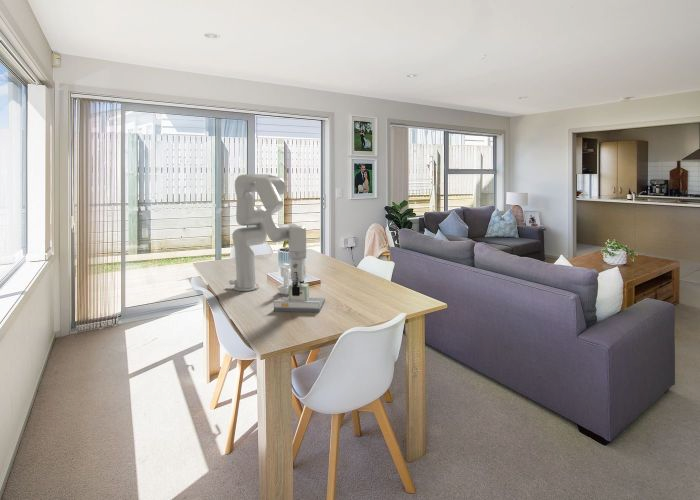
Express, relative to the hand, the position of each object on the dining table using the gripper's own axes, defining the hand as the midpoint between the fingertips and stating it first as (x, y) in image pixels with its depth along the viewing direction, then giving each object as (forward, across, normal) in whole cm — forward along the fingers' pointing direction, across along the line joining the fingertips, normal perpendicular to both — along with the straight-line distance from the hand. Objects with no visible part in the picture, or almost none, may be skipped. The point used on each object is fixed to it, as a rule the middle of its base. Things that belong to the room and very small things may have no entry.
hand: (298, 292), depth 183 cm
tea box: (+6, 0, 0) cm, 6 cm away
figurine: (+7, +23, +11) cm, 26 cm away
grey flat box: (+7, +3, 0) cm, 8 cm away
